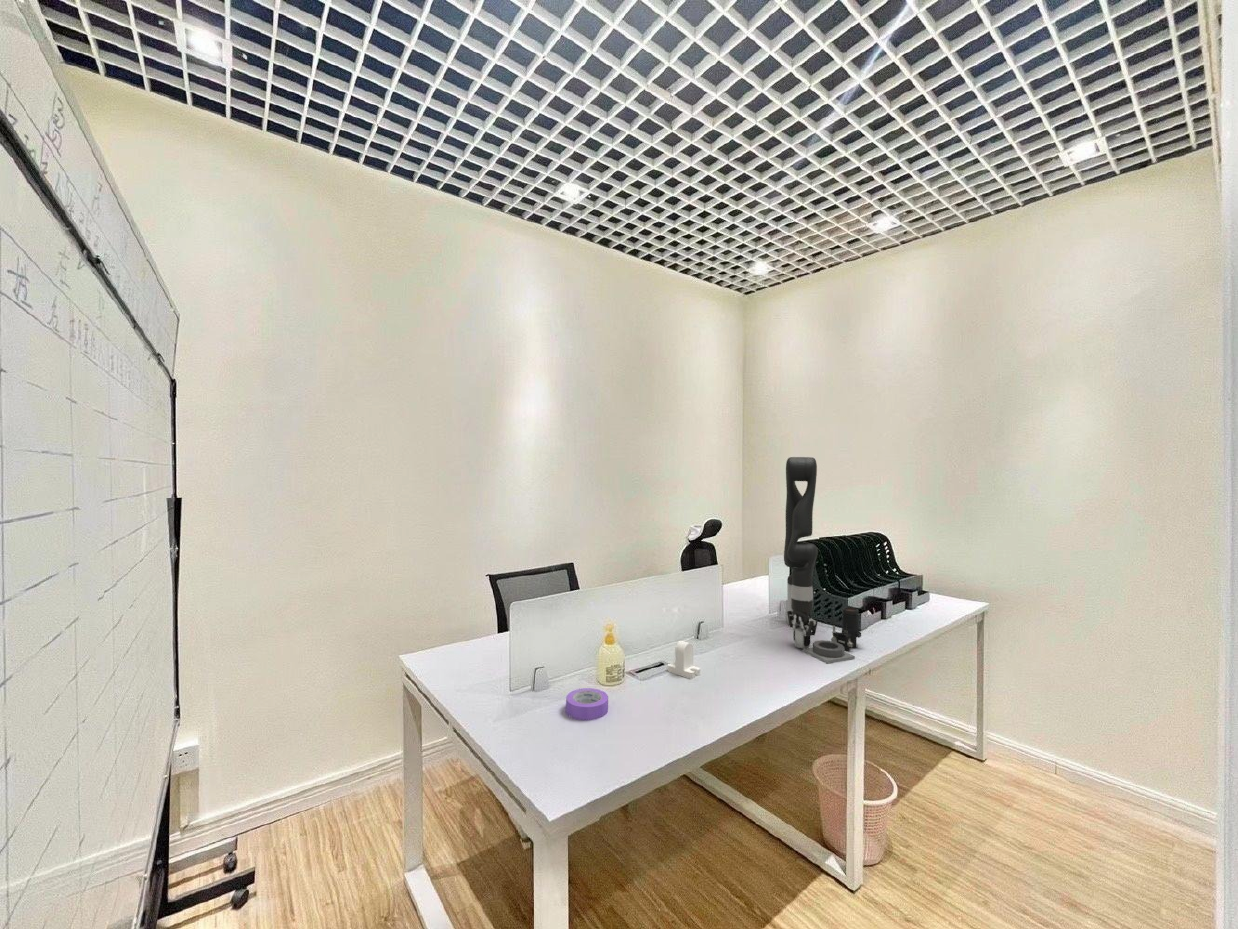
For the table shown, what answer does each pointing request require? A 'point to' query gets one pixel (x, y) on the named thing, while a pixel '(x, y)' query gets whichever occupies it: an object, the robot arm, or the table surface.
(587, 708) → the masking tape
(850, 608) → the scope
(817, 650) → the ring on square plate
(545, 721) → the table surface
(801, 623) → the robot arm
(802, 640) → the cap
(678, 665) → the cable organizer
